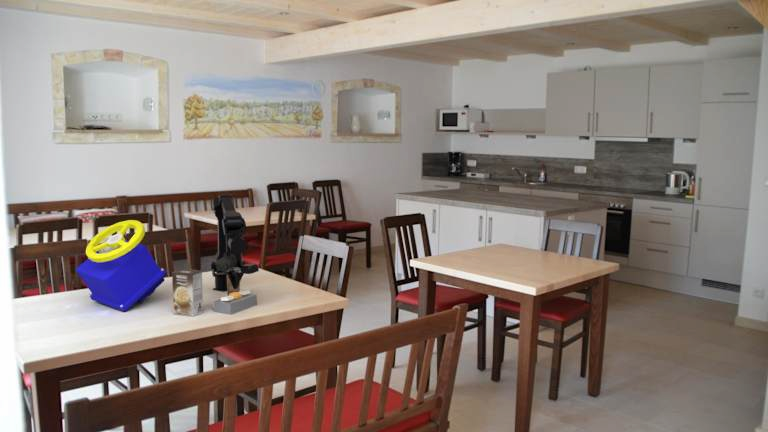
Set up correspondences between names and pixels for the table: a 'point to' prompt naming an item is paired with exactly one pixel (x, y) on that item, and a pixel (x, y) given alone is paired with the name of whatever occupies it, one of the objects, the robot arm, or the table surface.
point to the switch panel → (235, 304)
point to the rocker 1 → (227, 298)
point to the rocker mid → (235, 295)
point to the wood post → (231, 287)
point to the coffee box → (187, 292)
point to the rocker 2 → (244, 292)
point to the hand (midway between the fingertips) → (235, 288)
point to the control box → (120, 267)
